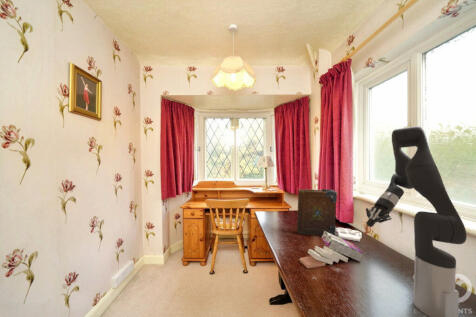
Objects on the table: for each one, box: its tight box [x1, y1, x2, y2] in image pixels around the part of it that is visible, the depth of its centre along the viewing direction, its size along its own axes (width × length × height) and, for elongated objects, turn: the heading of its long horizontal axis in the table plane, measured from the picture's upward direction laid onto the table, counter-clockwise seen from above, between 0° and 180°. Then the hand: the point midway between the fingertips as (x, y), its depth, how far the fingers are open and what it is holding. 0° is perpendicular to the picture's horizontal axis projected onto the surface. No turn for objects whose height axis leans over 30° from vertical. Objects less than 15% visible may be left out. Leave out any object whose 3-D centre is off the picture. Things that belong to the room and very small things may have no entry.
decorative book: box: [296, 188, 338, 237], centre depth 119 cm, size 23×7×30 cm, turn 86°
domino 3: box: [322, 244, 349, 263], centre depth 88 cm, size 6×2×10 cm
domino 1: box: [299, 255, 327, 269], centre depth 85 cm, size 6×2×10 cm
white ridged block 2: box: [313, 245, 340, 264], centre depth 87 cm, size 6×2×10 cm
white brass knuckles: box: [335, 227, 363, 242], centre depth 118 cm, size 3×18×15 cm
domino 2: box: [307, 248, 334, 265], centre depth 86 cm, size 6×2×10 cm
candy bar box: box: [321, 231, 365, 263], centre depth 93 cm, size 11×5×16 cm
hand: (368, 225), depth 93 cm, fingers closed
